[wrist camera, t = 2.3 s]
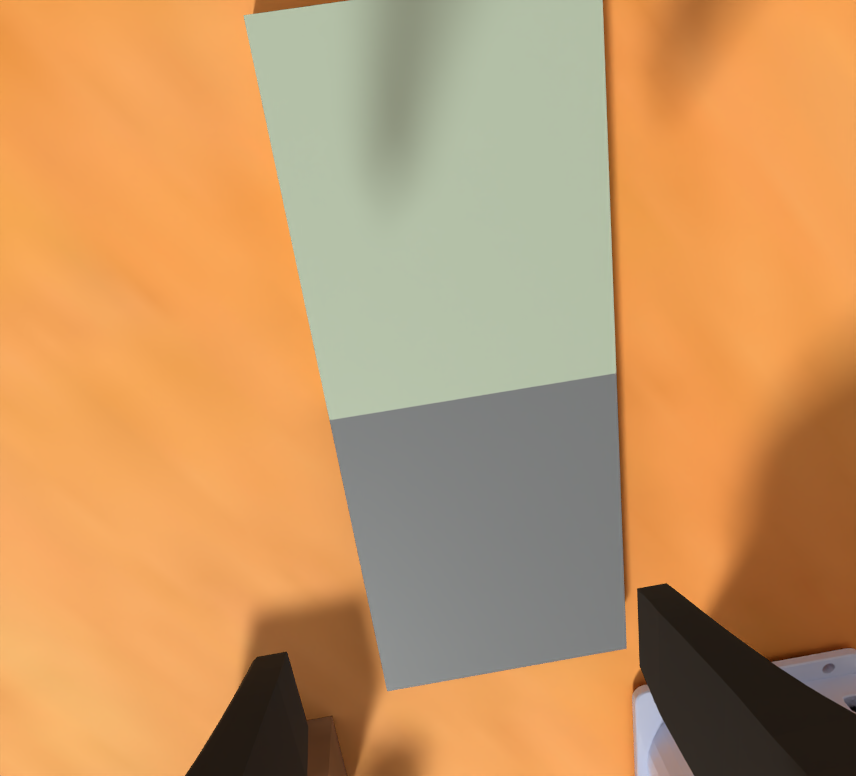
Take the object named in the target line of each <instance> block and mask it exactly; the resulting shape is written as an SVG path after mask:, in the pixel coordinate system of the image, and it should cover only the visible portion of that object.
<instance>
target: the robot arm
mask: <svg viewBox="0 0 856 776" xmlns="http://www.w3.org/2000/svg"><path fill="white" fill-rule="evenodd" d="M637 594H638V626H639V658H640V668H641V670H642V673H643V675H644V678H645V680H646V682H647V685H642V686H639V687H638V688H637V689H636V690H635V691H634V692H633V696H632V704H633V733H634V763H635V776H856V649H853V648H846V649H840V650H835V651H829V652H824V653H818V654H813V655H807V656H802V657H796V658H790V659H785V660H779V661H774V662H770V661H769V660H767V659H766V658H765V657H763V656H762V655H760V654H759V653H758V652H756V651H755V650H753V649H752V648H751V647H749V646H748V645H746V644H745V643H744V642H742V641H741V640H740V639H738V638H737V637H735V636H734V635H733V634H731V633H730V632H729V631H727V630H726V629H725V628H723V627H722V626H721V625H719V624H718V623H717V622H716V621H714V620H713V619H712V618H710V617H709V616H708V615H707V614H705V613H704V612H703V611H701V610H700V609H699V608H698V607H696V606H695V605H694V604H692V603H691V602H690V601H689V600H687V599H686V598H685V597H684V596H682V595H681V594H680V593H678V592H677V591H676V590H675V589H673V588H672V587H671V586H669V585H668V584H667V583H666V584H660V585H655V586H649V587H644V588H638V589H637ZM307 768H308V724H307V721H306V717H305V714H304V710H303V707H302V703H301V700H300V696H299V692H298V689H297V685H296V682H295V678H294V675H293V671H292V668H291V664H290V661H289V657H288V654H287V652H283V653H277V654H272V655H266V656H260V657H257V658H256V659H255V660H254V661H253V663H252V665H251V666H250V668H249V670H248V672H247V674H246V676H245V677H244V679H243V681H242V683H241V685H240V686H239V688H238V690H237V692H236V694H235V695H234V697H233V699H232V701H231V702H230V704H229V706H228V708H227V709H226V711H225V713H224V715H223V716H222V718H221V720H220V721H219V723H218V725H217V726H216V728H215V730H214V731H213V733H212V734H211V736H210V738H209V739H208V741H207V743H206V744H205V746H204V748H203V749H202V751H201V752H200V754H199V755H198V757H197V759H196V760H195V762H194V763H193V765H192V766H191V768H190V769H189V771H188V772H187V774H186V775H185V776H307Z"/></svg>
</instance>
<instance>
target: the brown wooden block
mask: <svg viewBox="0 0 856 776" xmlns="http://www.w3.org/2000/svg"><path fill="white" fill-rule="evenodd" d="M307 724H308V768H307V776H347V773H346V769H345V765H344V761H343V757H342V753H341V749H340V745H339V741H338V738H337V734H336V730H335V726H334V722H333V718H332V716H329V717H323V718H318V719H312V720H307Z"/></svg>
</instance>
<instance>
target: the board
mask: <svg viewBox="0 0 856 776" xmlns="http://www.w3.org/2000/svg"><path fill="white" fill-rule="evenodd" d="M244 20H245V24H246V29H247V34H248V38H249V43H250V48H251V53H252V57H253V62H254V67H255V71H256V76H257V81H258V85H259V90H260V95H261V100H262V104H263V109H264V114H265V118H266V123H267V128H268V133H269V137H270V142H271V147H272V151H273V156H274V161H275V165H276V170H277V175H278V180H279V184H280V189H281V194H282V198H283V203H284V208H285V212H286V217H287V222H288V227H289V231H290V236H291V241H292V245H293V250H294V255H295V259H296V264H297V269H298V274H299V278H300V283H301V288H302V292H303V297H304V302H305V306H306V311H307V316H308V321H309V325H310V330H311V335H312V339H313V344H314V349H315V354H316V358H317V363H318V368H319V372H320V377H321V382H322V386H323V391H324V396H325V401H326V405H327V410H328V415H329V419H330V424H331V429H332V433H333V438H334V443H335V448H336V452H337V457H338V462H339V466H340V471H341V476H342V480H343V485H344V490H345V495H346V499H347V504H348V509H349V513H350V518H351V523H352V527H353V532H354V537H355V542H356V546H357V551H358V556H359V560H360V565H361V570H362V575H363V579H364V584H365V589H366V593H367V598H368V603H369V607H370V612H371V617H372V622H373V626H374V631H375V636H376V640H377V645H378V650H379V654H380V659H381V664H382V669H383V673H384V678H385V683H386V687H387V691H392V690H397V689H403V688H408V687H414V686H420V685H425V684H431V683H436V682H442V681H448V680H453V679H459V678H464V677H470V676H475V675H481V674H487V673H492V672H498V671H503V670H509V669H515V668H520V667H526V666H531V665H537V664H543V663H548V662H554V661H559V660H565V659H570V658H576V657H582V656H587V655H593V654H598V653H604V652H610V651H615V650H621V649H626V622H625V595H624V567H623V540H622V513H621V486H620V459H619V432H618V405H617V377H616V350H615V323H614V296H613V269H612V242H611V214H610V187H609V160H608V133H607V106H606V79H605V51H604V24H603V0H349V1H342V2H335V3H327V4H320V5H313V6H306V7H299V8H292V9H285V10H278V11H271V12H264V13H257V14H250V15H244Z"/></svg>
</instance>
